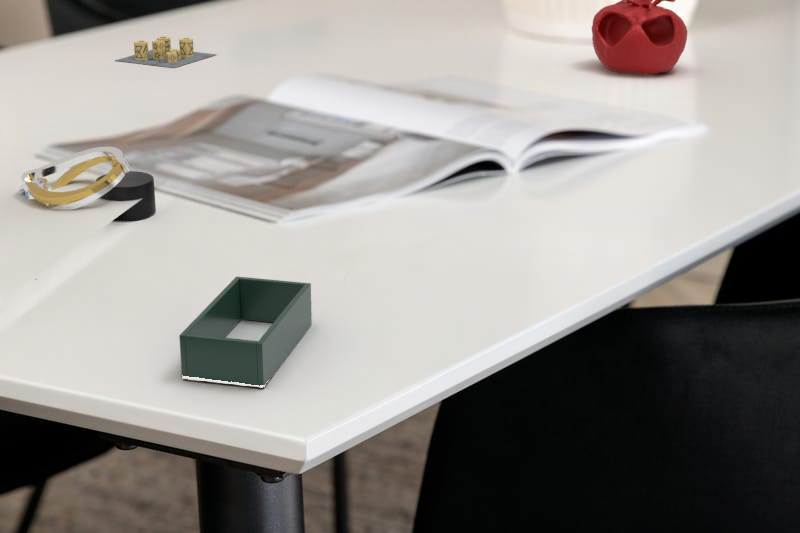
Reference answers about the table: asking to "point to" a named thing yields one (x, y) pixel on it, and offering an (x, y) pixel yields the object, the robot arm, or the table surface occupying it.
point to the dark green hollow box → (246, 358)
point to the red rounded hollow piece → (638, 37)
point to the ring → (82, 162)
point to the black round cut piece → (134, 195)
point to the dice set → (165, 53)
